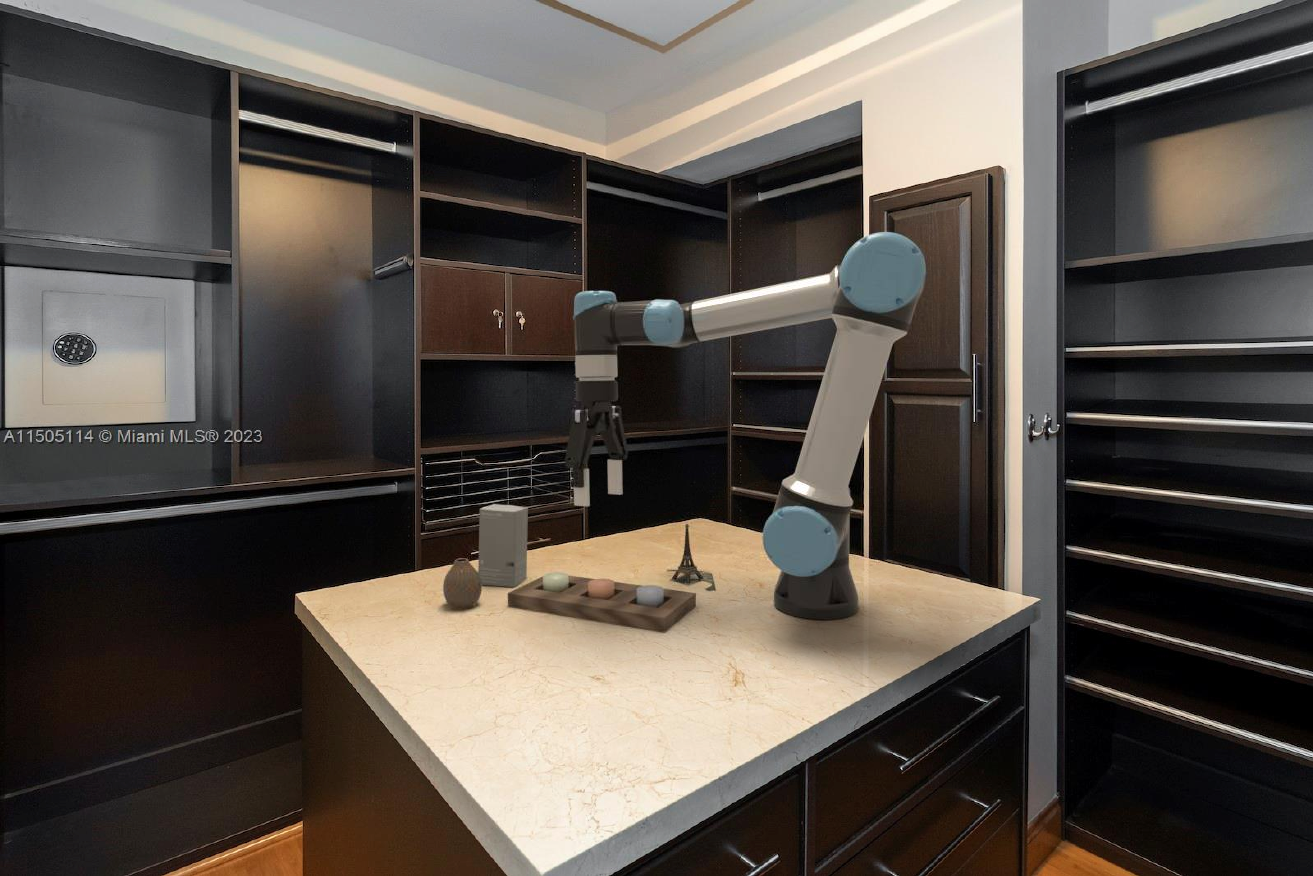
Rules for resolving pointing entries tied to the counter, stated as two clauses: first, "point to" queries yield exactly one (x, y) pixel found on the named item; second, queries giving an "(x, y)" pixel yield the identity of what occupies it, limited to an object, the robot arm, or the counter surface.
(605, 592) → the button terracotta
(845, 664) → the counter surface
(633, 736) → the counter surface
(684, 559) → the eiffel tower figurine
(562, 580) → the button sage
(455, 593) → the vase
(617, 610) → the button board
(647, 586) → the button slate
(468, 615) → the counter surface
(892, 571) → the counter surface
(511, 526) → the skincare box
